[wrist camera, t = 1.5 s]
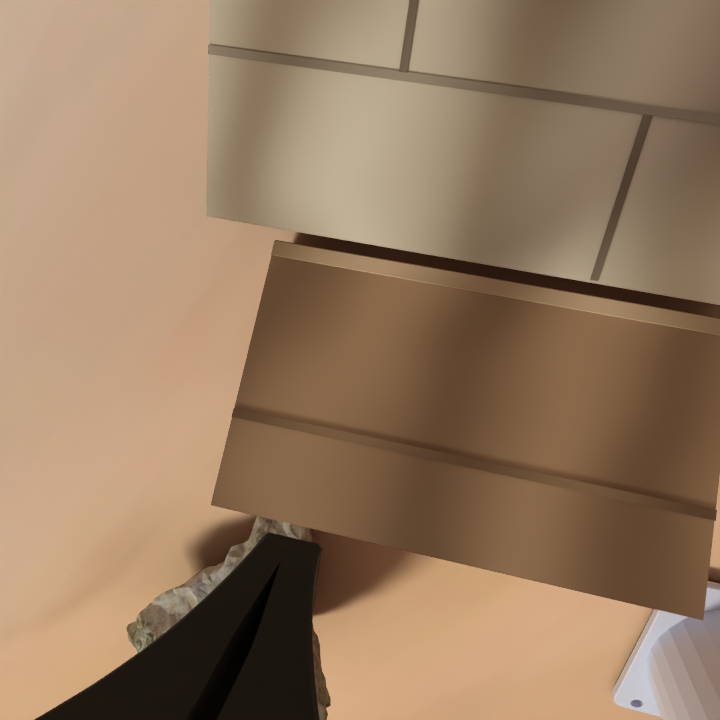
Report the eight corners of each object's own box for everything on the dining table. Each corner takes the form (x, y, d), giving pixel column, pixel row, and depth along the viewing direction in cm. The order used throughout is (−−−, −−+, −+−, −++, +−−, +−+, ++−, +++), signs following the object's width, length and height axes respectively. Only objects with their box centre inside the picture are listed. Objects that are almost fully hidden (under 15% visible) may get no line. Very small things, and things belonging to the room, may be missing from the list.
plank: (710, 330, 18) (737, 320, 16) (677, 605, 16) (704, 621, 15) (284, 254, 19) (274, 239, 18) (225, 500, 18) (210, 505, 17)
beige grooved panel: (991, -67, 13) (1052, -90, 12) (801, 310, 17) (829, 324, 16) (233, -140, 15) (211, -166, 14) (223, 211, 19) (205, 216, 18)
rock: (289, 494, 22) (331, 784, 18) (354, 509, 27) (401, 738, 22) (103, 562, 26) (96, 818, 21) (191, 565, 31) (201, 773, 26)
